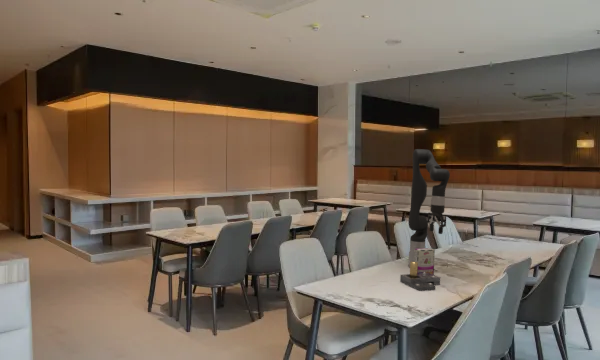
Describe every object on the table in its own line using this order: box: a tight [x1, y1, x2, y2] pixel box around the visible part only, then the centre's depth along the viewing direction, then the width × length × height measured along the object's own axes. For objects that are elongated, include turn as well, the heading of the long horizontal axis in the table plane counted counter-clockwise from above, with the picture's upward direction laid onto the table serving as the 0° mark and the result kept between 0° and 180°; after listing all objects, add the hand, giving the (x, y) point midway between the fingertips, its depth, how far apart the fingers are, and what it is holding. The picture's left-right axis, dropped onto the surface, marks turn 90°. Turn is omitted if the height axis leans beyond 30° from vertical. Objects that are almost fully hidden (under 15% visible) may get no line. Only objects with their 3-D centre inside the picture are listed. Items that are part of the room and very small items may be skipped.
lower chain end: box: [399, 277, 436, 292], centre depth 240 cm, size 18×10×3 cm, turn 20°
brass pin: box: [409, 261, 418, 278], centre depth 244 cm, size 4×4×12 cm
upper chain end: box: [399, 272, 441, 286], centre depth 246 cm, size 10×19×5 cm, turn 110°
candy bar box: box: [414, 247, 436, 275], centre depth 260 cm, size 11×5×16 cm, turn 105°
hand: (435, 232), depth 251 cm, fingers open, 8 cm apart
